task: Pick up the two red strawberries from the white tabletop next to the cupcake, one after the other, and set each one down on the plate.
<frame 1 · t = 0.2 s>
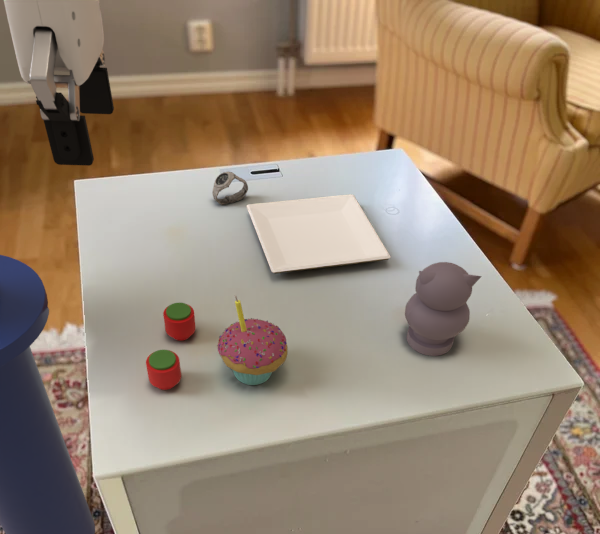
hand: (86, 136, 57), 31 cm above the table, tool pointing down, fingers open, 9 cm apart
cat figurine: (429, 340, 88), on the table
wristwatch: (231, 201, 109), on the table
strawberry a: (166, 382, 80), on the table
strawberry b: (181, 334, 86), on the table
plate: (315, 241, 102), on the table
cupcake: (253, 372, 82), on the table
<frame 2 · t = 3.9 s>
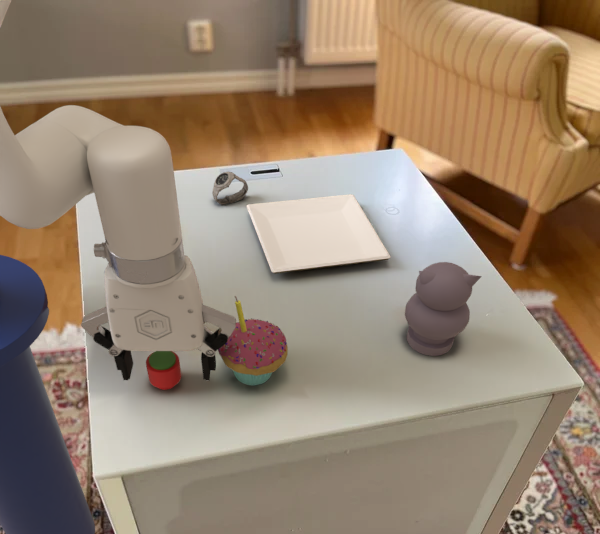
hand: (168, 372, 78), 2 cm above the table, tool pointing down, fingers open, 9 cm apart
cupcake: (253, 372, 82), on the table, touching gripper
everything else where it was.
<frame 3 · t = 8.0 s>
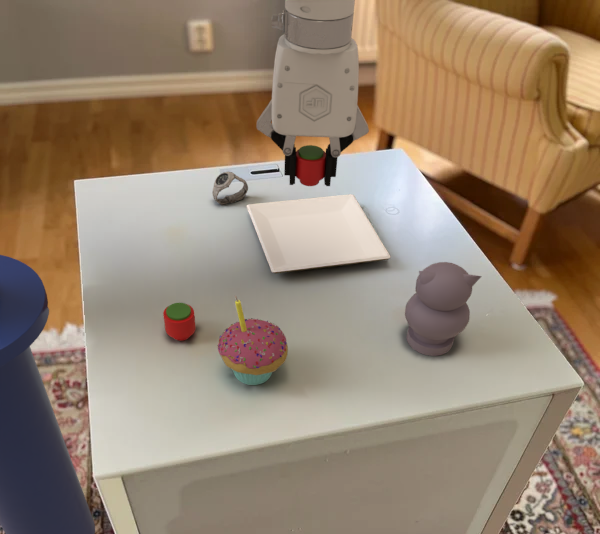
hand: (309, 179, 84), 16 cm above the table, tool pointing down, fingers closed on strawberry a, 4 cm apart
strawberry a: (309, 181, 84), point 15 cm above the table, touching gripper
cupcake: (253, 372, 82), on the table
everything else where it was.
when the fingers open (2 cm above the table, at t = 11.5 s): strawberry a stays where it is, resting on plate.
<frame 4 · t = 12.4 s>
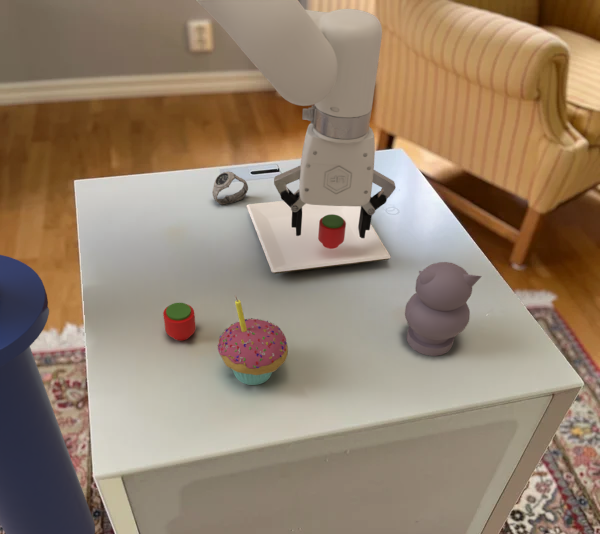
hand: (329, 232, 96), 4 cm above the table, tool pointing down, fingers open, 9 cm apart
strawberry a: (330, 244, 98), point 2 cm above the table, touching plate
plate: (315, 241, 102), on the table, touching strawberry a
everything else where it was.
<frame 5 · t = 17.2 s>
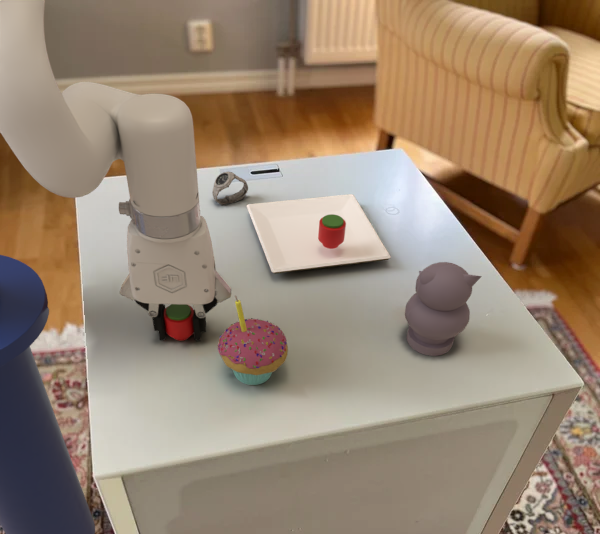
hand: (181, 332, 86), 0 cm above the table, tool pointing down, fingers closed on strawberry b, 4 cm apart
strawberry b: (181, 334, 86), on the table, touching gripper
everything else where it was.
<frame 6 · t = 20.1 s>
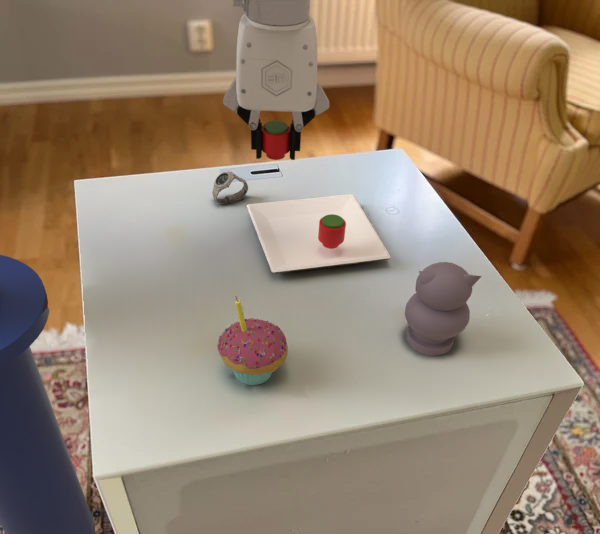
hand: (275, 153, 88), 16 cm above the table, tool pointing down, fingers closed on strawberry b, 4 cm apart
strawberry b: (275, 155, 89), point 15 cm above the table, touching gripper
everything else where it was.
when the fingers open (2 cm above the table, at t = 23.4 s): strawberry b stays where it is, resting on plate.
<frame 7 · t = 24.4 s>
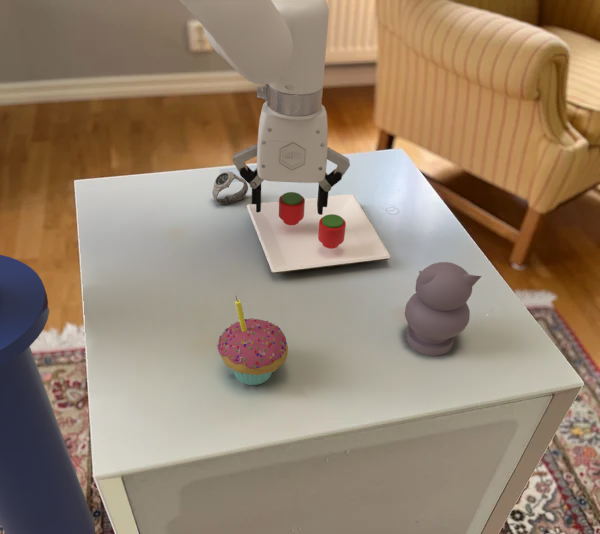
hand: (289, 208, 100), 4 cm above the table, tool pointing down, fingers open, 9 cm apart
strawberry b: (291, 221, 102), point 2 cm above the table, touching plate
plate: (315, 241, 102), on the table, touching strawberry a, strawberry b
everything else where it was.
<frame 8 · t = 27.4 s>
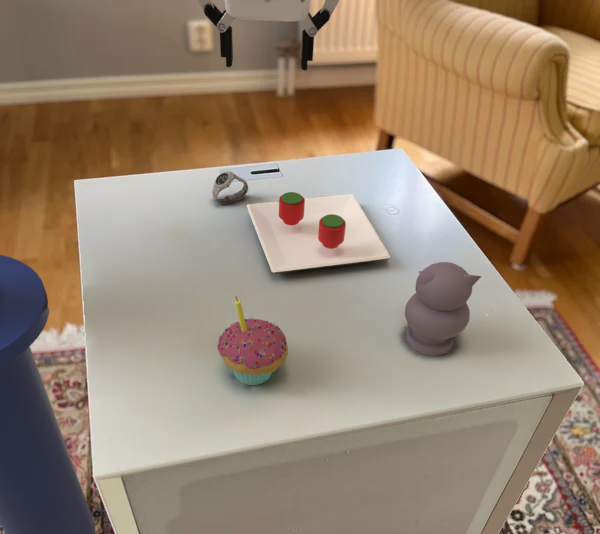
hand: (266, 64, 82), 26 cm above the table, tool pointing down, fingers open, 9 cm apart
nothing on the table moved.
at the end: strawberry a inside the target area on the plate (4.5 cm from its centre), point 2.3 cm above the plate's base; strawberry b inside the target area on the plate (4.4 cm from its centre), point 2.3 cm above the plate's base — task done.
